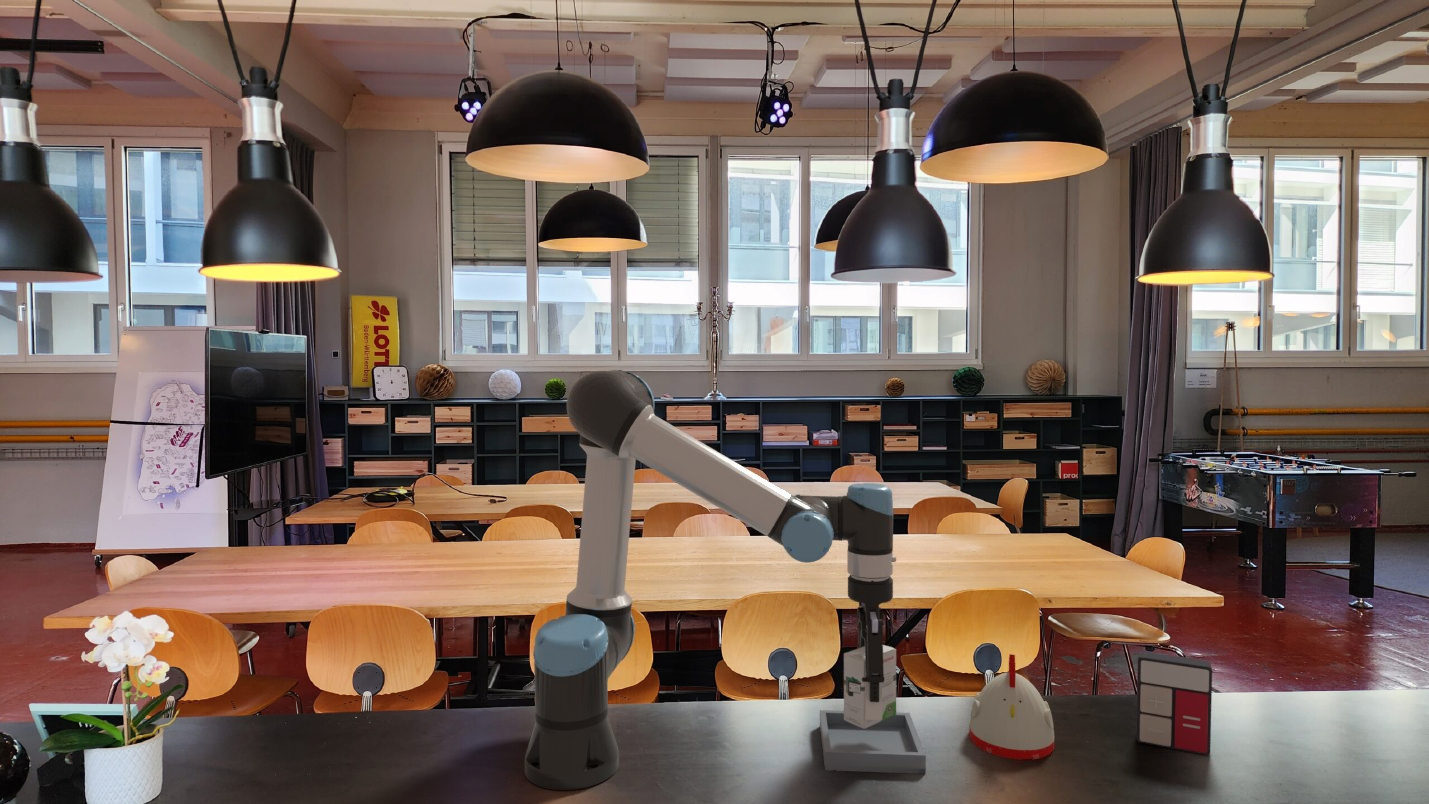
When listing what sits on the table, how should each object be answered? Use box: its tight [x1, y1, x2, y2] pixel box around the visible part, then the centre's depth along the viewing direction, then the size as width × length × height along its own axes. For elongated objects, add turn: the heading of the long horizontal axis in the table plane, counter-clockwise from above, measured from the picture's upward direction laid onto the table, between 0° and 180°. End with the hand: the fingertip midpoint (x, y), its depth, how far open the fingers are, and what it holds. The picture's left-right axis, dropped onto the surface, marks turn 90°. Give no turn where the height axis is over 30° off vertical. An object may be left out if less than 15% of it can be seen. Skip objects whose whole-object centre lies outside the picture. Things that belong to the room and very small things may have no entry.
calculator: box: [1135, 651, 1213, 756], centre depth 138 cm, size 11×4×15 cm, turn 62°
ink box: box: [843, 644, 897, 729], centre depth 137 cm, size 9×5×12 cm, turn 129°
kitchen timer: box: [968, 653, 1055, 760], centre depth 141 cm, size 14×14×15 cm
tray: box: [819, 709, 927, 775], centre depth 138 cm, size 16×16×3 cm
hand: (870, 706), depth 138 cm, fingers closed on ink box, 9 cm apart
